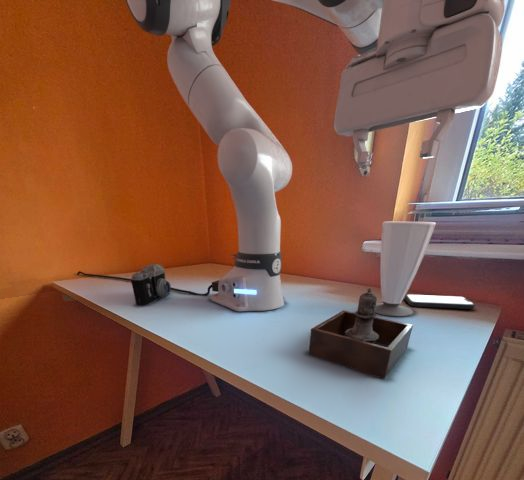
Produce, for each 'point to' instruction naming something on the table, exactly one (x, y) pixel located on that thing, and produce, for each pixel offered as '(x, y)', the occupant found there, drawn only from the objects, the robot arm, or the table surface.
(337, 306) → the table surface
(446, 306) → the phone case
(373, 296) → the salt shaker
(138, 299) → the camera
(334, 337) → the crate
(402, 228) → the cup
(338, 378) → the table surface
